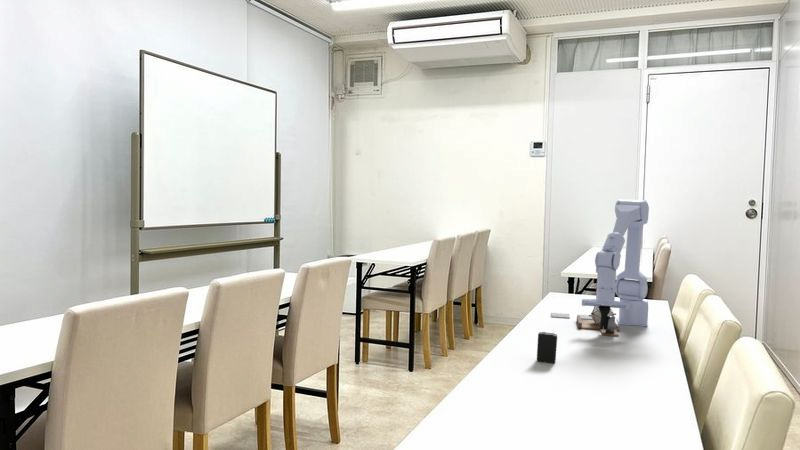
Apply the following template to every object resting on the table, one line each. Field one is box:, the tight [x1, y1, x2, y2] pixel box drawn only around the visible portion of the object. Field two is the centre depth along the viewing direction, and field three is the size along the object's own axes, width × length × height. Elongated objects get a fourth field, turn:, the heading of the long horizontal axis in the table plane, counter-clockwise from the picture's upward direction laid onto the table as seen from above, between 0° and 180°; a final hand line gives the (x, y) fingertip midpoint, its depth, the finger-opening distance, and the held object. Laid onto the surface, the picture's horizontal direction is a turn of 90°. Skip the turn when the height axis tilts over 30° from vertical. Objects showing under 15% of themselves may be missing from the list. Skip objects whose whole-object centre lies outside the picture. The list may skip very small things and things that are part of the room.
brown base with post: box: [576, 314, 620, 337], centre depth 205 cm, size 13×19×6 cm
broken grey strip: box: [550, 312, 593, 320], centre depth 222 cm, size 16×6×1 cm, turn 77°
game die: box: [589, 304, 617, 325], centre depth 209 cm, size 9×8×10 cm
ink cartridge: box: [536, 331, 558, 365], centre depth 167 cm, size 5×2×8 cm, turn 69°
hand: (603, 328), depth 198 cm, fingers closed, pressing on brown base with post
